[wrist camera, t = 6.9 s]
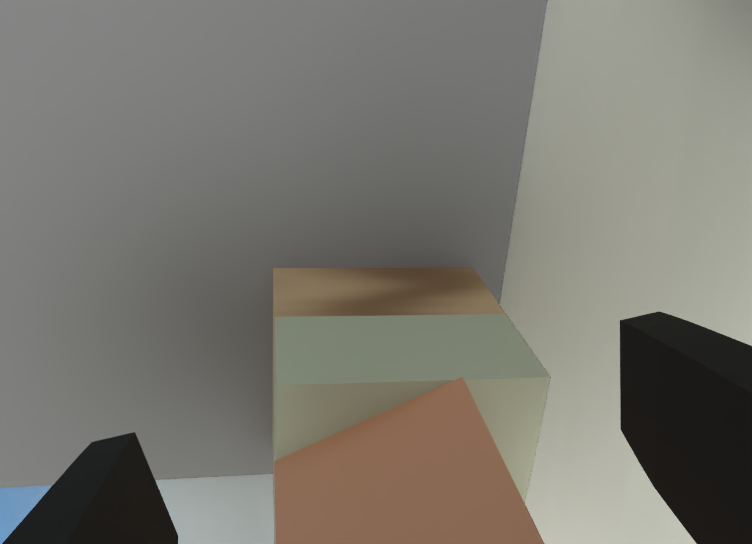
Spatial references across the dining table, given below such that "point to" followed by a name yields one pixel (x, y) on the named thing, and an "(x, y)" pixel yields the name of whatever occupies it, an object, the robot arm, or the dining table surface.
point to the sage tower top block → (405, 377)
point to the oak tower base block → (378, 294)
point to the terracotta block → (404, 481)
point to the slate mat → (228, 198)
